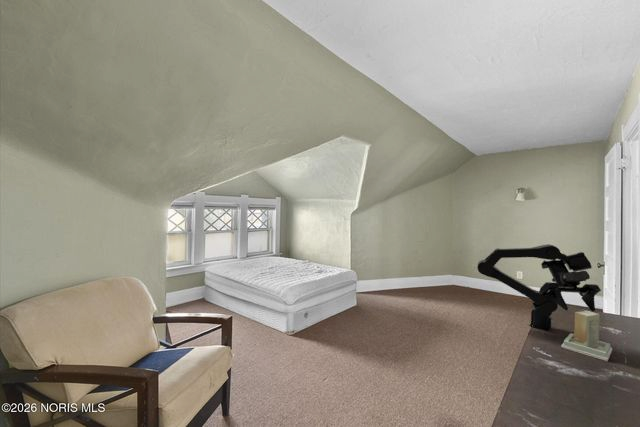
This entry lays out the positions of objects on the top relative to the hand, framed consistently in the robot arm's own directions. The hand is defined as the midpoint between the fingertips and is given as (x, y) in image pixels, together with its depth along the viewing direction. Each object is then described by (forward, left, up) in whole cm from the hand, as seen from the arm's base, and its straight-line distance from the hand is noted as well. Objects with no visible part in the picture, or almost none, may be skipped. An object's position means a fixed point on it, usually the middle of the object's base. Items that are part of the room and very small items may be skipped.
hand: (580, 310), depth 109 cm
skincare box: (+2, -2, -12) cm, 12 cm away
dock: (+3, -2, -13) cm, 13 cm away
